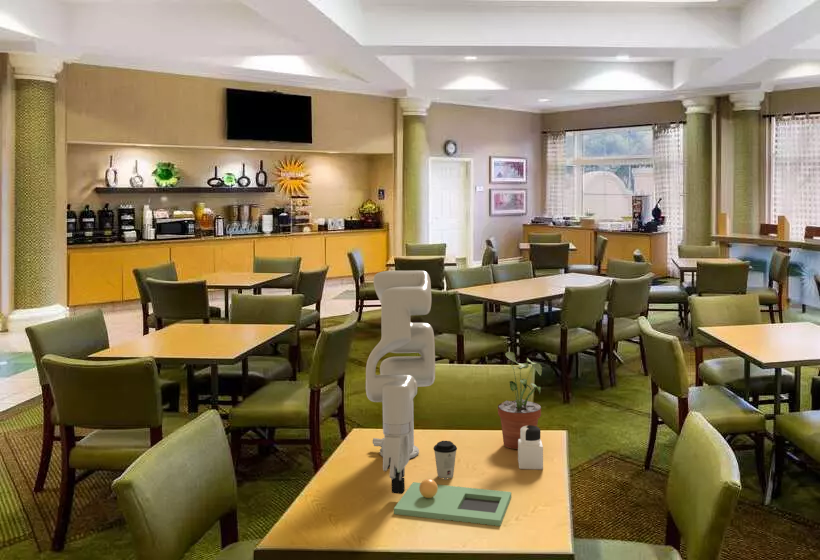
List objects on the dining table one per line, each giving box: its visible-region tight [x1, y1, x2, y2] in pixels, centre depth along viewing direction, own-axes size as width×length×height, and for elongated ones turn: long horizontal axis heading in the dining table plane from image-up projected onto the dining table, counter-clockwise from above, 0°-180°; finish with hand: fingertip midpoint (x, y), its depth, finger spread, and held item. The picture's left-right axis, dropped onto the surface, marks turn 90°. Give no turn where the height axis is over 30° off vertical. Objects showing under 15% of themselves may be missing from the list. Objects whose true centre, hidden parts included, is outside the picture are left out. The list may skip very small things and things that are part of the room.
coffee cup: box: [433, 440, 458, 480], centre depth 213 cm, size 7×7×10 cm
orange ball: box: [419, 478, 438, 498], centre depth 195 cm, size 5×5×5 cm
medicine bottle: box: [517, 425, 544, 470], centre depth 220 cm, size 7×7×12 cm
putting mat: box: [393, 481, 512, 527], centre depth 193 cm, size 28×18×2 cm, turn 73°
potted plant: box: [497, 351, 543, 450], centre depth 236 cm, size 16×15×35 cm
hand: (398, 492), depth 197 cm, fingers closed
